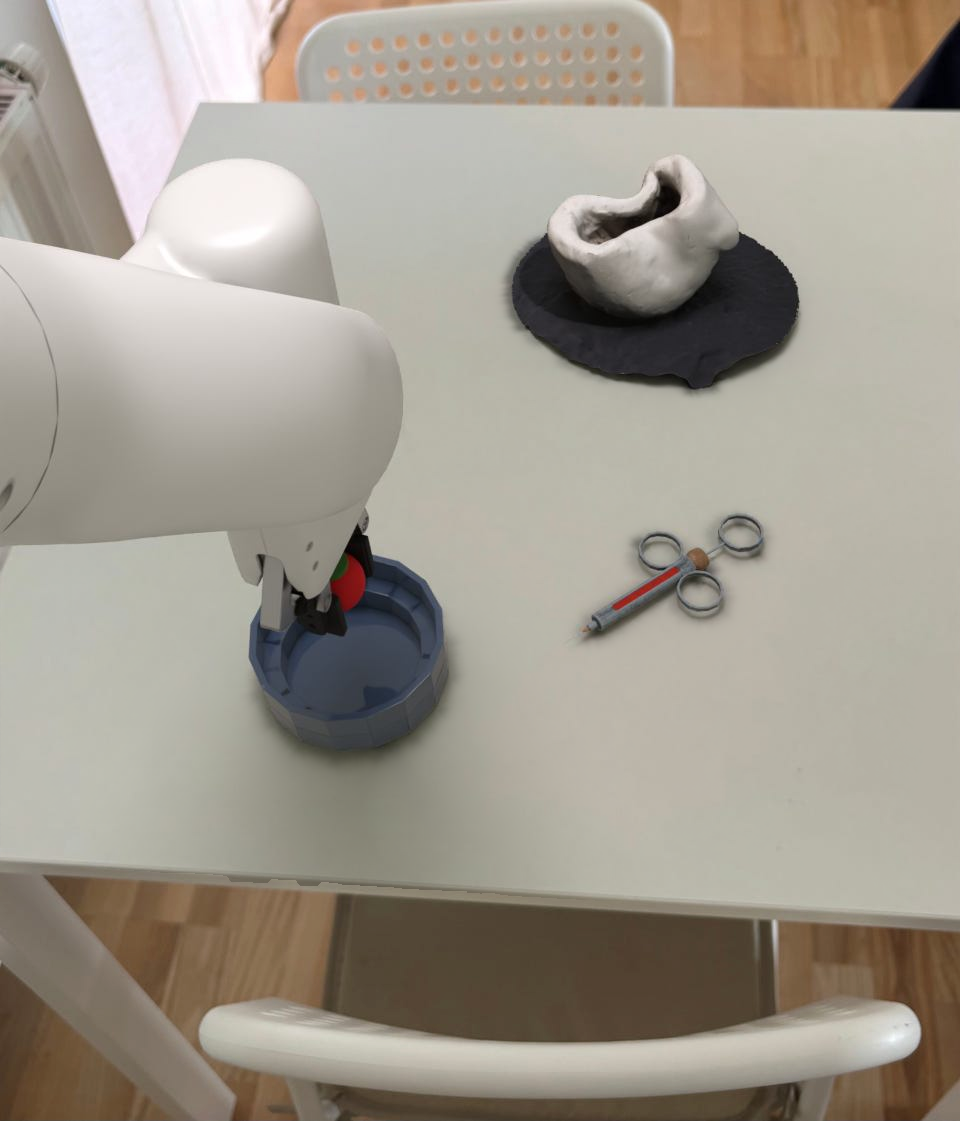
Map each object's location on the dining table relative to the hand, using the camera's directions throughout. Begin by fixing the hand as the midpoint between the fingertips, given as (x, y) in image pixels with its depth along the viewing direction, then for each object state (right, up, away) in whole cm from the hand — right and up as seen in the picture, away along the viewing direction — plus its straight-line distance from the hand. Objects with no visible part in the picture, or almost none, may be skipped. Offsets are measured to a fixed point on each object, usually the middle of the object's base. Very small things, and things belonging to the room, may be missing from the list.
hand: (337, 596), depth 70 cm
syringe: (+22, 0, +10) cm, 25 cm away
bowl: (0, -5, +7) cm, 9 cm away
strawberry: (0, 0, 0) cm, 0 cm away
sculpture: (+24, +26, +28) cm, 45 cm away
